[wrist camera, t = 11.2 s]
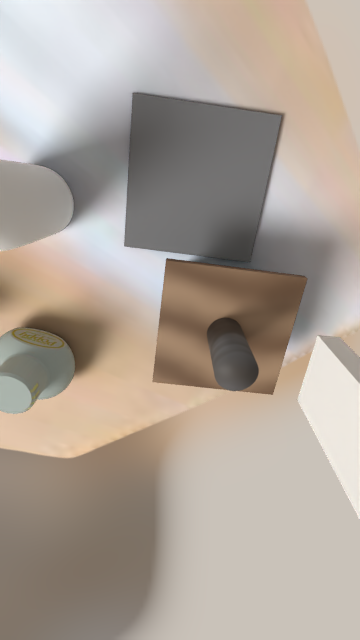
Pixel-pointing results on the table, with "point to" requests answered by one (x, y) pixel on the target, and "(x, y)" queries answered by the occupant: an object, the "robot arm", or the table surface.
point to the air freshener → (32, 368)
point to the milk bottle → (31, 204)
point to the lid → (224, 326)
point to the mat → (197, 176)
